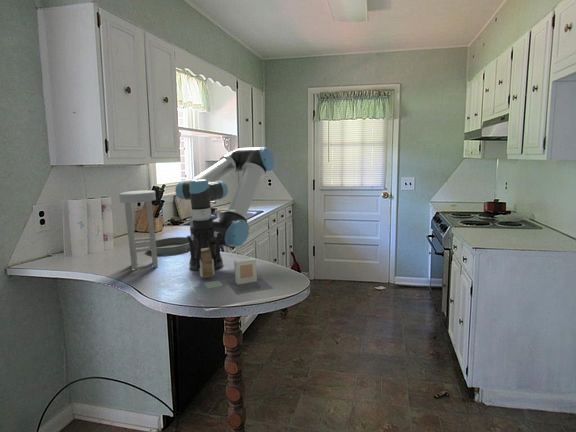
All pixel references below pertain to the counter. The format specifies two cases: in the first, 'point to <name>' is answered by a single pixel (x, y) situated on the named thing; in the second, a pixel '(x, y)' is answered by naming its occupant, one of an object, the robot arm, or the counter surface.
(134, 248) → the stool
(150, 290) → the counter surface
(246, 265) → the tile
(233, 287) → the mat
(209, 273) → the block
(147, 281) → the counter surface
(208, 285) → the rest pad
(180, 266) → the counter surface
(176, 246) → the cake pan
